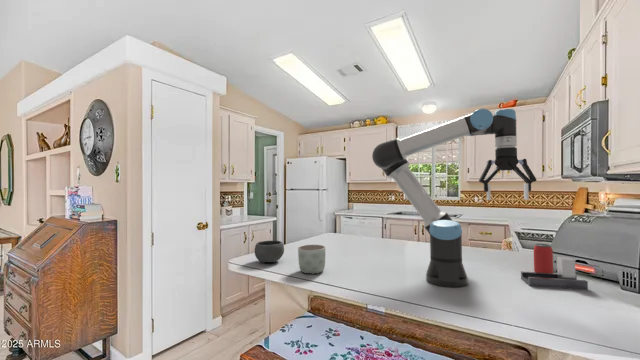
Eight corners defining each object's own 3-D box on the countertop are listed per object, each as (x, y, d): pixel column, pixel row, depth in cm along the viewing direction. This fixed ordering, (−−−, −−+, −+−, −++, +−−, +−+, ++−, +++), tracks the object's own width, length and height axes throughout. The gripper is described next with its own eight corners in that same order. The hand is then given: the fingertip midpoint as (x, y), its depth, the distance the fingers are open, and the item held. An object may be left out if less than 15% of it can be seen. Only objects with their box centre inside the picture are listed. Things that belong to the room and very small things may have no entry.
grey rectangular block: (562, 286, 110) (562, 259, 111) (557, 282, 114) (557, 256, 114) (575, 287, 109) (575, 259, 109) (570, 283, 113) (569, 257, 113)
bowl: (249, 265, 145) (249, 245, 146) (260, 258, 160) (260, 239, 160) (279, 266, 143) (278, 245, 143) (287, 258, 158) (287, 240, 158)
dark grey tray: (529, 286, 111) (529, 277, 111) (521, 278, 119) (520, 271, 120) (587, 289, 106) (587, 281, 107) (574, 282, 115) (574, 274, 115)
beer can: (556, 275, 123) (556, 246, 123) (538, 275, 124) (538, 246, 124) (548, 271, 129) (547, 243, 129) (531, 270, 131) (530, 243, 131)
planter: (320, 276, 126) (320, 251, 126) (293, 274, 130) (293, 249, 130) (329, 268, 138) (328, 245, 138) (304, 266, 142) (304, 243, 142)
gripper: (474, 148, 122) (475, 200, 121) (545, 145, 115) (547, 200, 115) (470, 150, 129) (471, 199, 129) (537, 147, 122) (538, 199, 122)
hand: (507, 199), depth 122 cm, fingers open, 13 cm apart
